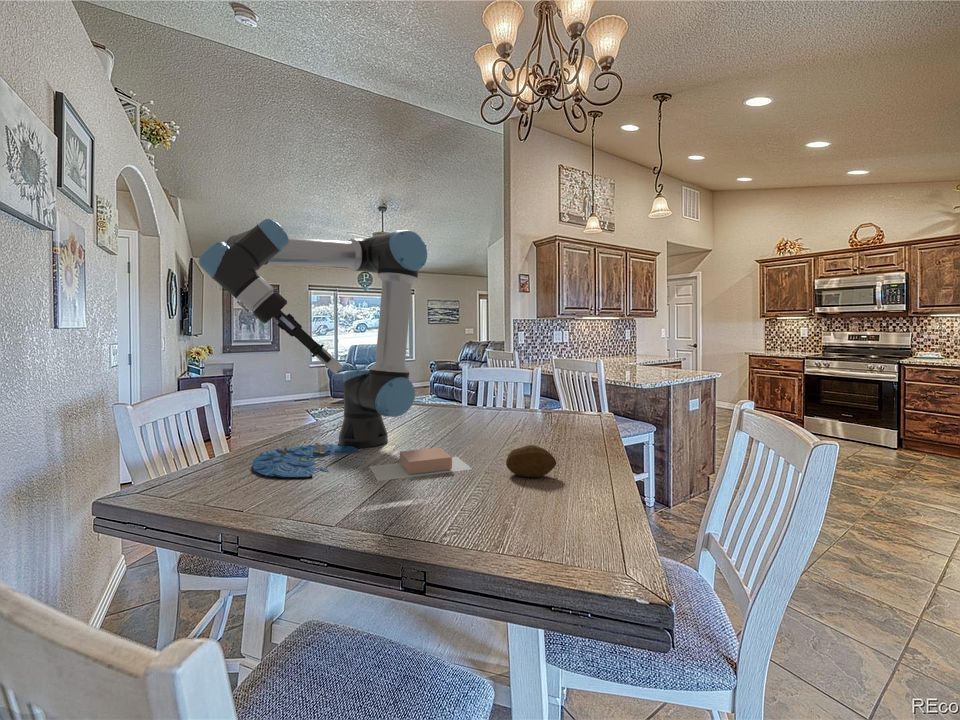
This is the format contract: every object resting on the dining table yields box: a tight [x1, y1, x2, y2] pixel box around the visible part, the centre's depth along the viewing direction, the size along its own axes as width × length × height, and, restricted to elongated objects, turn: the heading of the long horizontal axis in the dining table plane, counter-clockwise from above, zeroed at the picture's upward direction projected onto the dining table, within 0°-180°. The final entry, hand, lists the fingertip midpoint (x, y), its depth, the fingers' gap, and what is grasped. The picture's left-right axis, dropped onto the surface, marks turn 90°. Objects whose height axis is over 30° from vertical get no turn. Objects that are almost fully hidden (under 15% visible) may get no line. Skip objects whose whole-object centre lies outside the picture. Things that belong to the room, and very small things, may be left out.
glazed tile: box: [399, 446, 453, 475], centre depth 121 cm, size 10×3×11 cm
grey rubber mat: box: [369, 456, 473, 482], centre depth 121 cm, size 12×24×1 cm, turn 113°
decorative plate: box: [252, 442, 363, 479], centre depth 129 cm, size 30×30×5 cm
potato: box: [505, 444, 557, 478], centre depth 117 cm, size 8×12×8 cm, turn 88°
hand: (338, 369), depth 118 cm, fingers closed
